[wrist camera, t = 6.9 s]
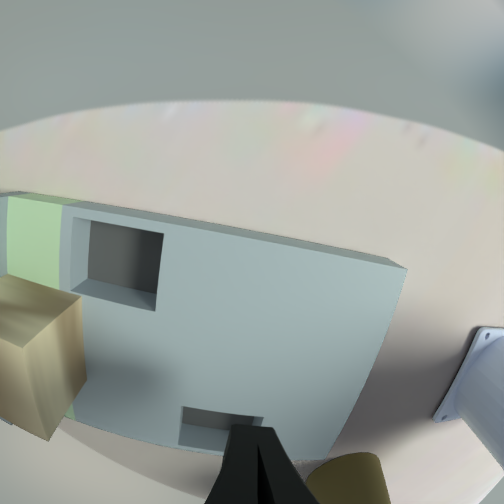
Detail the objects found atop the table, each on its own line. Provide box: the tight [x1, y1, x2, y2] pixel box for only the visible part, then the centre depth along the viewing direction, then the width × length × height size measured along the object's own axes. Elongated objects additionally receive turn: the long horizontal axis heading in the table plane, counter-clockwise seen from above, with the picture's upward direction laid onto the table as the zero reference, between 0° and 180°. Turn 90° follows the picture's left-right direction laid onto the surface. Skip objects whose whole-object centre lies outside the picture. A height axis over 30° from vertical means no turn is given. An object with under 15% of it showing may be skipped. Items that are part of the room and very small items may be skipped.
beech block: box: [0, 274, 87, 441], centre depth 9 cm, size 5×5×5 cm
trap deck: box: [0, 191, 408, 460], centre depth 12 cm, size 19×12×4 cm, turn 79°
